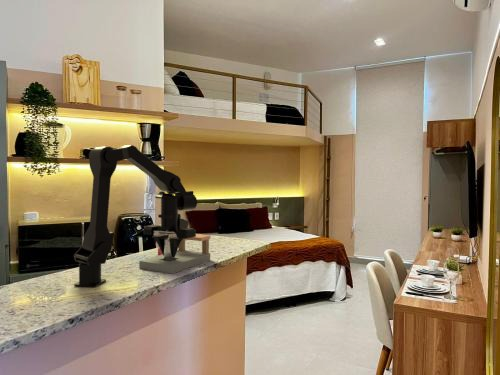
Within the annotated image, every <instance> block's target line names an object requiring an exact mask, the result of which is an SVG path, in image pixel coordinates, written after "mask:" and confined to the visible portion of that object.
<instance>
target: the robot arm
mask: <svg viewBox="0 0 500 375" xmlns="http://www.w3.org/2000/svg"><path fill="white" fill-rule="evenodd" d="M88 160H89V161H88V162H89V168H90V171H91V174H92V176H93V178H92V179H93V180H92V181H93V182H92V190H91V191H92V192H91V203H90V204H91V205H90V206H91V207H90V217H89V218H90V220H89V226H88V228H87V229H86V231H85V233H84V236H83V240H82V244H81V246H80V248H78V250H77V251H75V253H74V254H73V257H74V261H75V262H78V263H79V264H78V281H77V282H75V283H74V284H73V285H74V287H88V288H89V287H90V288H95V287H98V286H99V285H101V284H103V283H105V282H106V281H107V279H106V278H102V265H103V264H104V265H105V264H106V263H107V259H108V257H109V254H110V253H111V251H112V249H113V247H115V245H114V240H115V239H114V238H115V232H113V231H110V229H109V228H108V220H109V205H110V191H111V181H112V180H111V179H112V177H113V175H114V173H115V172H116V169H117V165H118V162H121V161H125V160H127V161H128V162H130V163H131V164H132V165H133V166H134V167H137V169H138V170H140V171H141V172H143V173H144V174H145V175H147V176H148V177H150V178H151V180H152V181H153V183H154V185H155V186H156V187H157V188H158V189H159V190H160V191H159V192H158V193H157V194H156V195H155V198H154V199H158V200H159V199H160V214H158V216H157V217H158V218H160V224H161V225H160V224H151V225H145V227H144V228H143V235H147V236H151V235H152V234H153V235H152V236H151V237H152V238H153V239H154V241H155V242H156V244H157V247H158V246H159V248H160V250H161V252H162V254H163V256H164V239H166V238H168V237H169V234H173V238H169V240H170V247H171V254H172V257H175V255H176V252H177V250H178V247H179V244H180V242H181V241H182V240H183V239H185V240H186V239H187V238H192V237H196V234H197V231H196V229H195V228H192V227H189V223H190V221H188V220H186V219H184V218H182V216H181V213H179V211H188V210H189V211H190V210H195V209H196V208H197V205H198V200H197V197H196V195H195V194H194V190H186V189H185V187H184V185H183V184H182V181H181V178H180V176H179V175H176V174H175V173H173V172H171V171H168V170H165V169H163V168H162V167H160V166H159V165H158V164H156V163H155V162H154V161H153V160H151V158H150V157H147V155H146V154H144V153H143V152H142V151H140V150H139V149H138V147H137V146H135V145H133V144H129V145H123V146H119V147H112V146H99V147H97V146H96V147H94V148H92V149H91V150H90V152H89V153H88Z"/></svg>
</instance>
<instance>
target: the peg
mask: <svg viewBox="0 0 500 375" xmlns="http://www.w3.org/2000/svg"><path fill="white" fill-rule="evenodd" d="M173 260H175V257H172V254H171V247H170V240H169V238H166V239H164V261H173Z"/></svg>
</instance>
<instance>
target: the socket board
mask: <svg viewBox="0 0 500 375" xmlns="http://www.w3.org/2000/svg"><path fill="white" fill-rule="evenodd" d="M170 238H173V234H171V235H170ZM210 239H211V235H209V234H200V233H198V234H197V233H196V237H192V238H187V239H183V240H182V241H181V242H180V244H179V247H178V250H177V252H176V255H175V260H173V261H164V256H163V254H162V255H156V256H152V257H149V258H146V259H145V258H144V259H141V260H138V261H139V263H138V265H139V266H138V267H139V269H143V270H147V271H148V270H149V271H153V272H154V271H155V272H160V273H166V274H175V273H177V272H180V271H184V270H186V269H188V268H192V267H195V266H197V265H200V264H203V263H206V262H208V260H209V261H211V253H210ZM188 240H189V241H195V242H197V241H198V242H201V251H195V250H187V249H186V241H188ZM205 261H206V262H205Z"/></svg>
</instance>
